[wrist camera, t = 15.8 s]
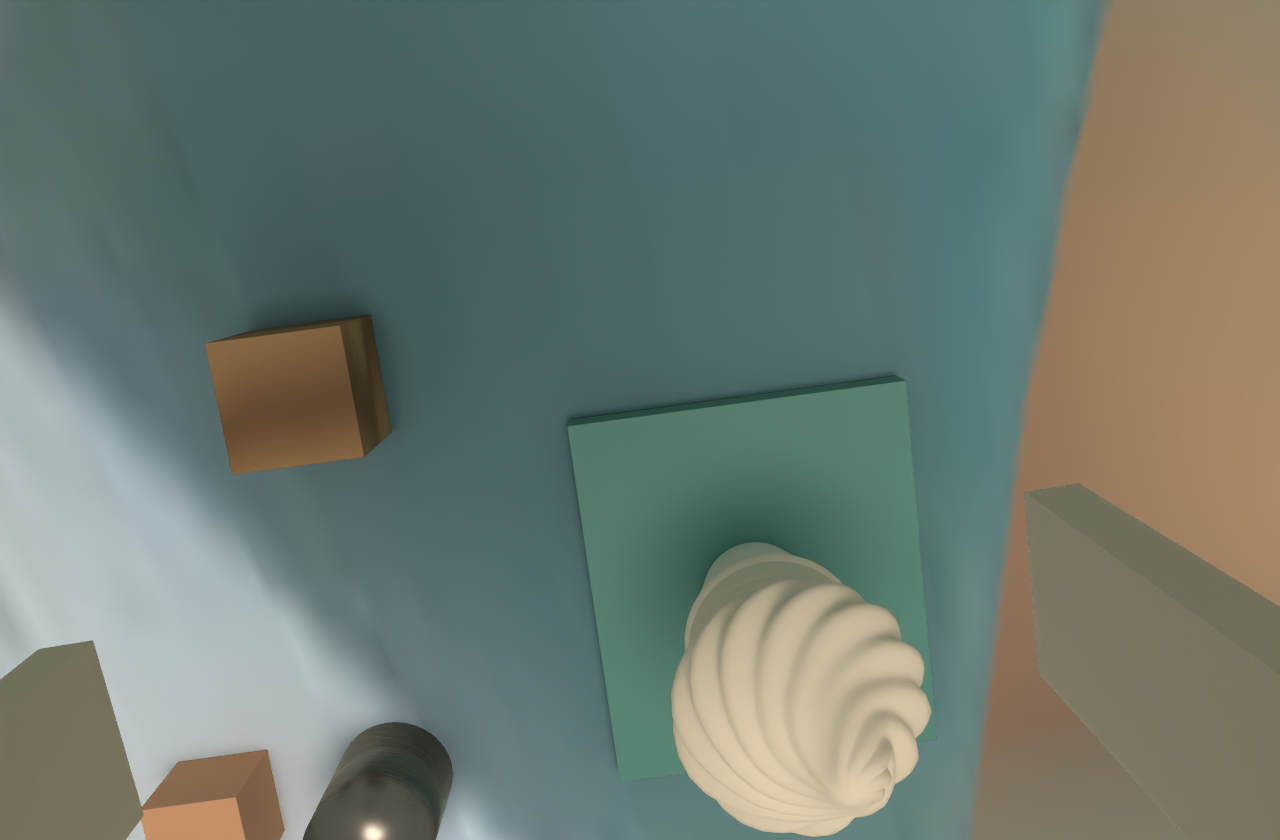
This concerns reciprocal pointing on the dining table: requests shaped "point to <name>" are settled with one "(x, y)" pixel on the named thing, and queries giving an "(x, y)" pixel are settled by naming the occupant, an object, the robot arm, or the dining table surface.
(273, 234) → the dining table surface
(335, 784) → the dark metal cylinder
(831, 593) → the soft serve ice cream cone
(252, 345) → the walnut cube
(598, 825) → the dining table surface
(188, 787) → the terracotta block
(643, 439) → the teal board
